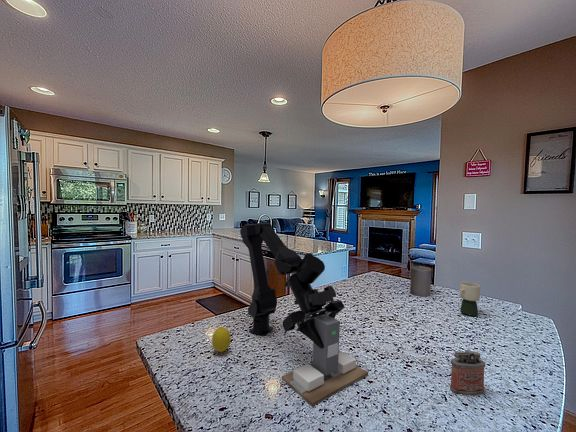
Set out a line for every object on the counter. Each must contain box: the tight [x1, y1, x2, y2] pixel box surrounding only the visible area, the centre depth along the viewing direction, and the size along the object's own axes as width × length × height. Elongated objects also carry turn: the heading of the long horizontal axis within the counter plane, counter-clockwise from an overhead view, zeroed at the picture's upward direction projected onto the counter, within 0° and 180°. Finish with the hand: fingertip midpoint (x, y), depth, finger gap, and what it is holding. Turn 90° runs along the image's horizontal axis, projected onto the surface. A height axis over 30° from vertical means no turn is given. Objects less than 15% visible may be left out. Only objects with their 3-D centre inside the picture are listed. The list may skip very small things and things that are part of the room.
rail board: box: [281, 362, 369, 407], centre depth 73 cm, size 12×20×1 cm, turn 126°
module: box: [311, 315, 341, 376], centre depth 73 cm, size 5×4×13 cm
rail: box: [290, 363, 359, 394], centre depth 73 cm, size 5×20×1 cm, turn 126°
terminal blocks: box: [292, 349, 357, 392], centre depth 73 cm, size 6×17×2 cm, turn 126°
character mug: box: [458, 281, 481, 317], centre depth 117 cm, size 11×7×13 cm, turn 107°
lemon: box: [211, 326, 232, 353], centre depth 85 cm, size 6×6×8 cm
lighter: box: [449, 349, 486, 396], centre depth 68 cm, size 8×3×10 cm, turn 92°
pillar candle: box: [409, 265, 432, 298], centre depth 144 cm, size 10×10×15 cm
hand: (329, 345), depth 72 cm, fingers closed on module, 5 cm apart
